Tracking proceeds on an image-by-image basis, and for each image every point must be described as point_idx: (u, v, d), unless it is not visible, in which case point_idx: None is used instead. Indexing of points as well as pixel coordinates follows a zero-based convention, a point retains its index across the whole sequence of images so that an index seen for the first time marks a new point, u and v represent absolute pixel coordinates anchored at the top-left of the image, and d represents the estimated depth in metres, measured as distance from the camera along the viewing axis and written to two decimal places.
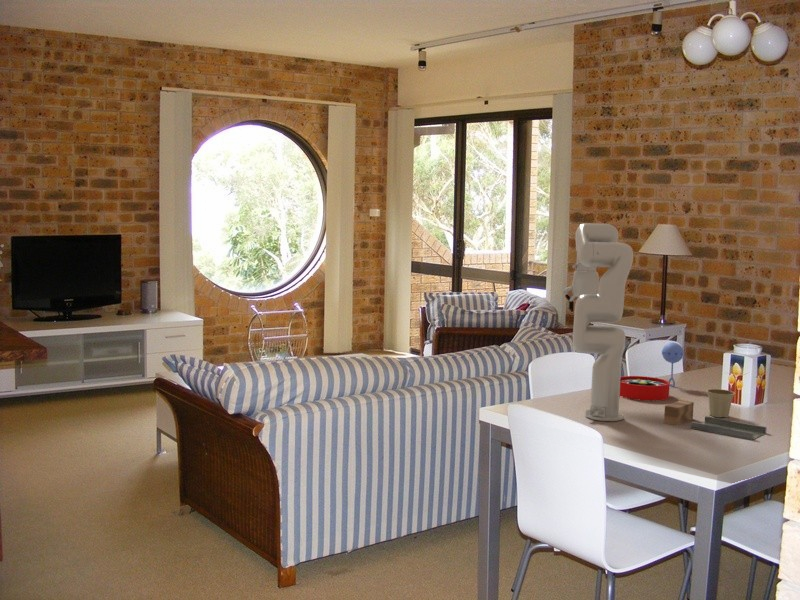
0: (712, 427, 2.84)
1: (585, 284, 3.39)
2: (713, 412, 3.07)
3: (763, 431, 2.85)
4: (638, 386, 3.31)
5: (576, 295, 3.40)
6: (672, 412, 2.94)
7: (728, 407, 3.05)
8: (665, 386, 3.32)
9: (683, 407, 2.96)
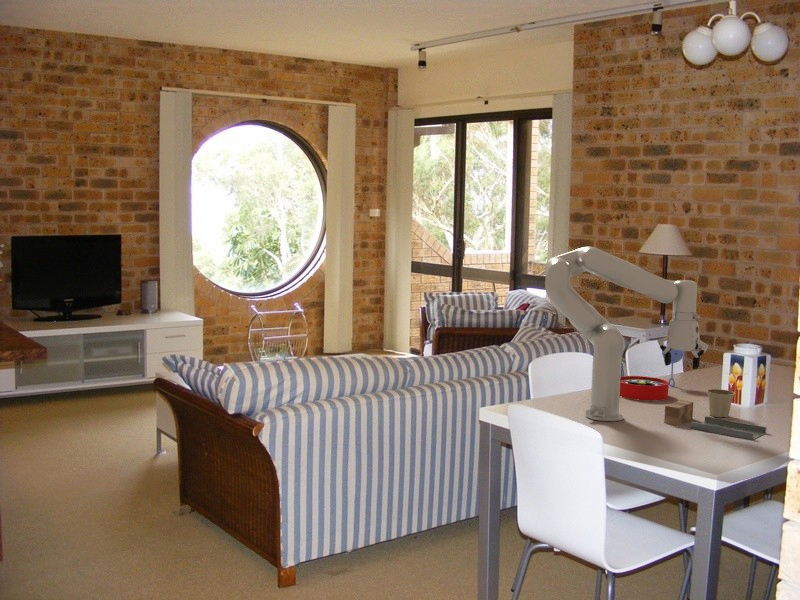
0: (712, 427, 2.84)
1: None
2: (713, 412, 3.07)
3: (763, 431, 2.85)
4: (637, 386, 3.31)
5: None
6: (672, 412, 2.94)
7: (728, 407, 3.05)
8: (664, 386, 3.32)
9: (683, 407, 2.96)
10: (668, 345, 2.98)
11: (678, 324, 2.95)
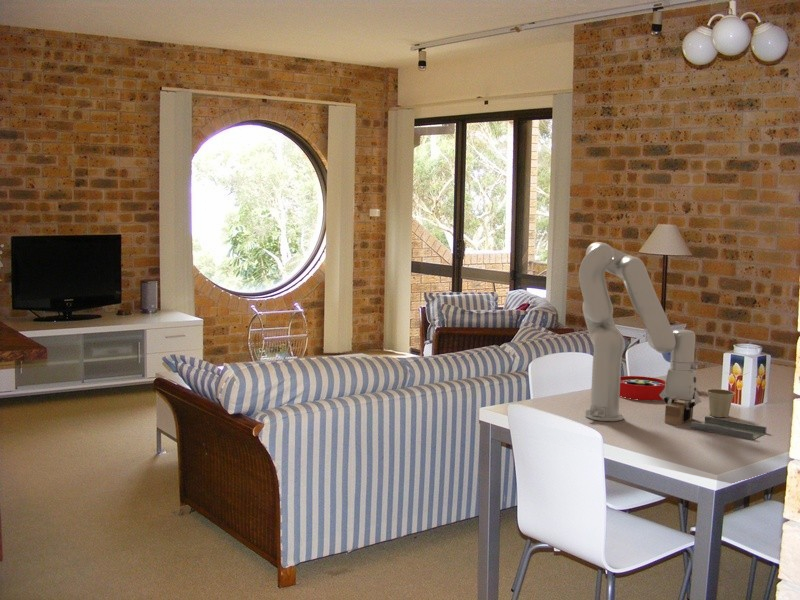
0: (712, 427, 2.84)
1: None
2: (713, 412, 3.07)
3: (763, 431, 2.85)
4: (636, 386, 3.31)
5: None
6: (673, 412, 2.94)
7: (728, 407, 3.05)
8: (663, 386, 3.32)
9: (684, 407, 2.96)
10: (666, 394, 3.00)
11: (676, 374, 2.96)
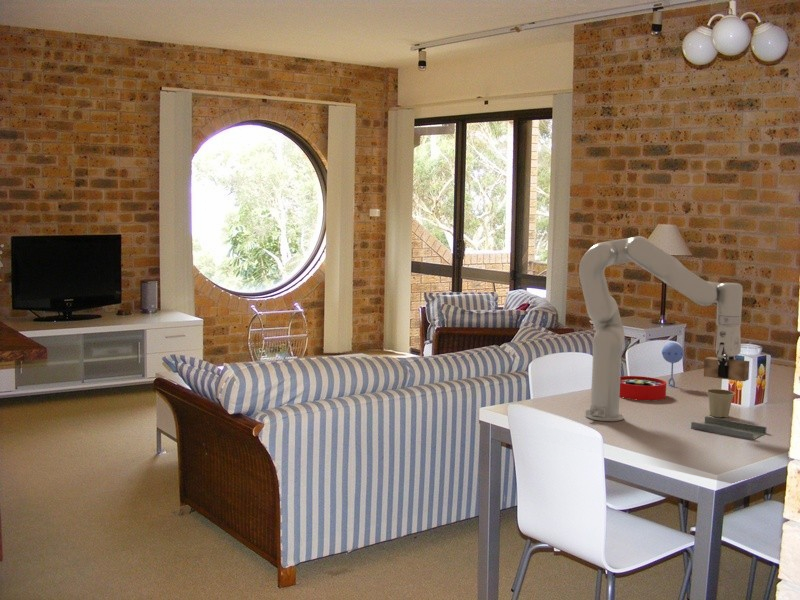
0: (712, 427, 2.84)
1: (735, 340, 2.84)
2: (713, 412, 3.07)
3: (763, 431, 2.85)
4: (634, 386, 3.31)
5: (731, 355, 2.82)
6: None
7: (728, 407, 3.05)
8: (662, 386, 3.32)
9: None
10: None
11: None
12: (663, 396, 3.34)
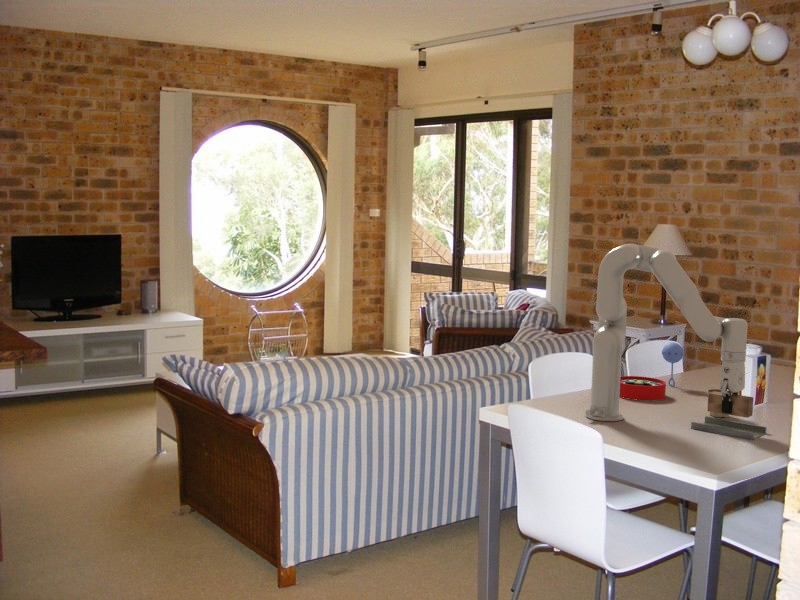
0: (712, 427, 2.84)
1: (740, 376, 2.83)
2: (713, 412, 3.07)
3: (763, 431, 2.85)
4: (634, 386, 3.31)
5: (735, 391, 2.81)
6: None
7: None
8: (661, 386, 3.32)
9: None
10: None
11: None
12: (662, 396, 3.34)
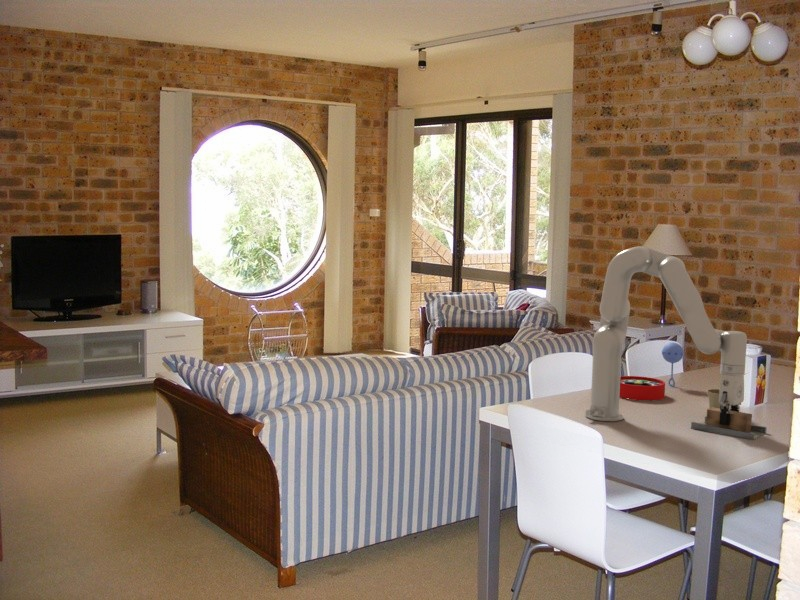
0: (712, 427, 2.84)
1: (739, 389, 2.84)
2: None
3: (763, 431, 2.85)
4: (633, 386, 3.31)
5: (734, 404, 2.82)
6: None
7: None
8: (661, 386, 3.32)
9: None
10: None
11: None
12: (662, 396, 3.34)
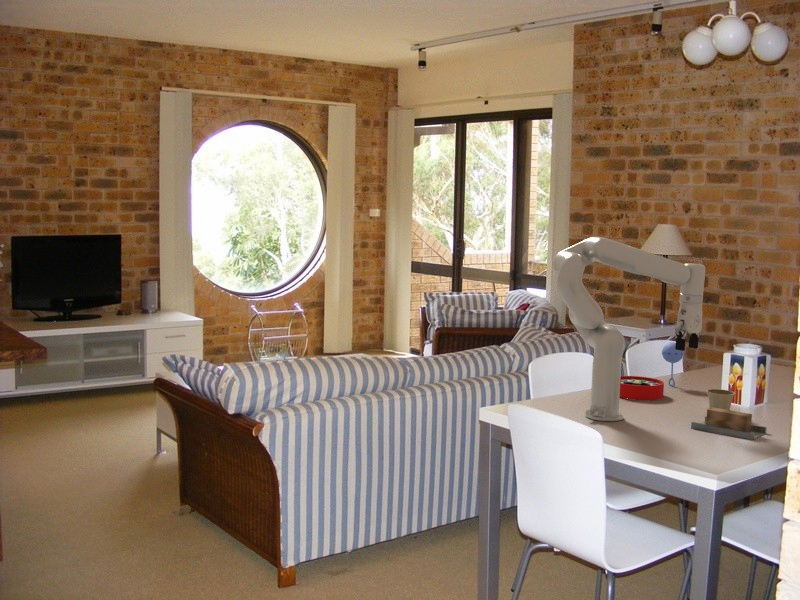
0: (712, 427, 2.84)
1: (696, 318, 2.98)
2: None
3: (763, 431, 2.85)
4: (632, 386, 3.31)
5: (690, 331, 2.96)
6: None
7: (728, 407, 3.05)
8: (659, 386, 3.32)
9: (721, 413, 2.86)
10: None
11: None
12: (661, 396, 3.34)
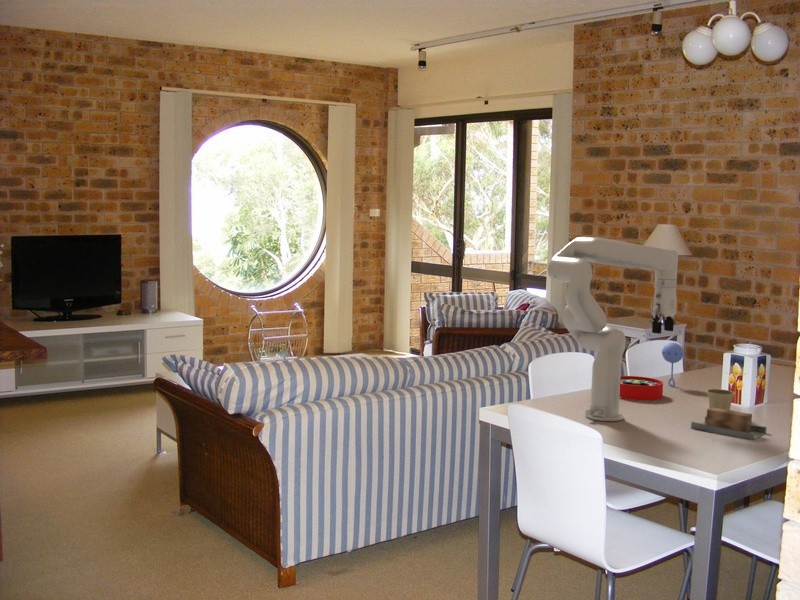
0: (712, 427, 2.84)
1: (671, 302, 3.09)
2: None
3: (763, 431, 2.85)
4: (632, 386, 3.31)
5: (666, 315, 3.07)
6: None
7: (728, 407, 3.05)
8: (658, 386, 3.32)
9: (721, 413, 2.86)
10: None
11: None
12: (660, 396, 3.34)
